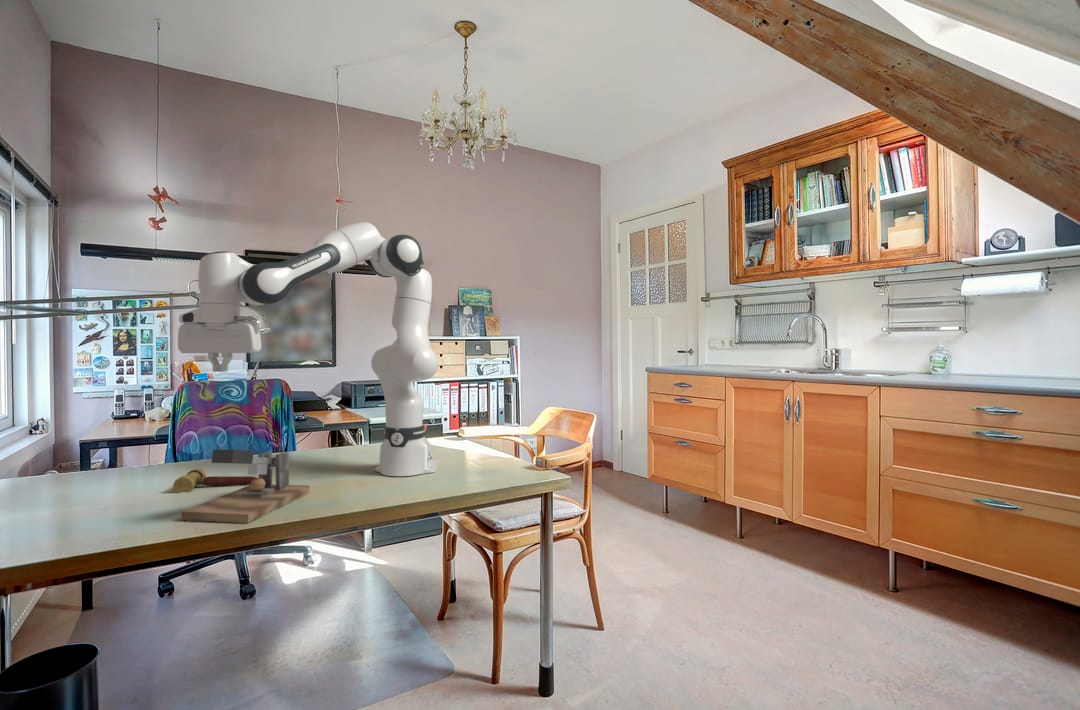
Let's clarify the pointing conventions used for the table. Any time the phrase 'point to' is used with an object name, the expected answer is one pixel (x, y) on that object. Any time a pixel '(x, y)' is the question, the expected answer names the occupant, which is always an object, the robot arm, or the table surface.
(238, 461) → the lever
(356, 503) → the table surface
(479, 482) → the table surface
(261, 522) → the table surface
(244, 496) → the nutcracker base
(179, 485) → the gavel
